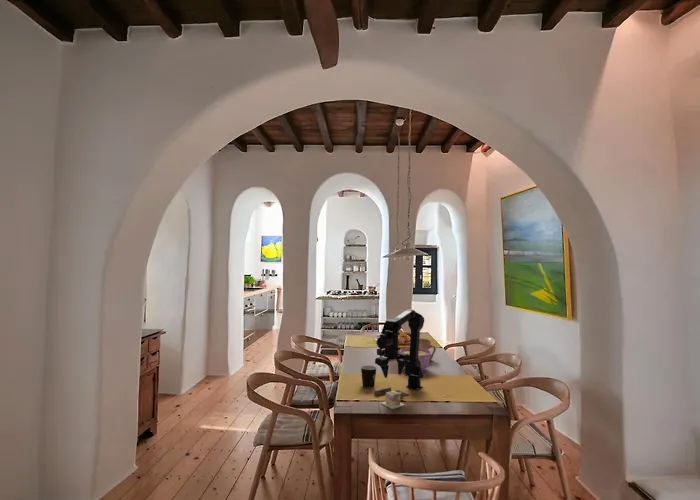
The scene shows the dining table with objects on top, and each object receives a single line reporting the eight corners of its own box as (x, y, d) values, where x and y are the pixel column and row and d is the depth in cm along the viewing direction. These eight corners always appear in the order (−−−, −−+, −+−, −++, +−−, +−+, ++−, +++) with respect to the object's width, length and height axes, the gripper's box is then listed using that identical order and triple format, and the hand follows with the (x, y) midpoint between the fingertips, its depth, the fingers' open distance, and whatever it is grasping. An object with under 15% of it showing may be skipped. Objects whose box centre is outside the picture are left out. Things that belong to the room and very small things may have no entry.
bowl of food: (429, 366, 257) (429, 348, 257) (432, 375, 237) (433, 355, 237) (399, 364, 259) (399, 347, 259) (399, 373, 239) (400, 354, 239)
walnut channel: (389, 391, 206) (389, 386, 206) (403, 397, 197) (403, 392, 197) (374, 395, 201) (374, 390, 201) (388, 401, 192) (388, 396, 192)
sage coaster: (393, 400, 193) (393, 399, 193) (404, 405, 186) (404, 404, 186) (381, 403, 188) (381, 402, 188) (392, 409, 182) (392, 407, 182)
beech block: (393, 400, 191) (393, 390, 191) (400, 404, 187) (400, 393, 187) (385, 402, 188) (385, 392, 188) (392, 406, 184) (392, 395, 184)
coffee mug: (367, 389, 209) (367, 370, 210) (357, 385, 216) (357, 366, 216) (383, 385, 216) (383, 367, 216) (373, 381, 223) (373, 363, 223)
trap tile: (398, 390, 208) (398, 390, 208) (408, 394, 201) (408, 394, 201) (391, 392, 205) (391, 391, 205) (401, 396, 198) (401, 396, 198)
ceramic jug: (409, 362, 266) (409, 341, 266) (409, 357, 280) (409, 337, 280) (436, 364, 263) (436, 343, 263) (434, 358, 277) (435, 338, 277)
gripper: (395, 339, 207) (395, 369, 207) (367, 344, 196) (368, 375, 196) (410, 343, 198) (410, 374, 198) (382, 349, 187) (382, 381, 187)
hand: (392, 376), depth 195 cm, fingers open, 9 cm apart
